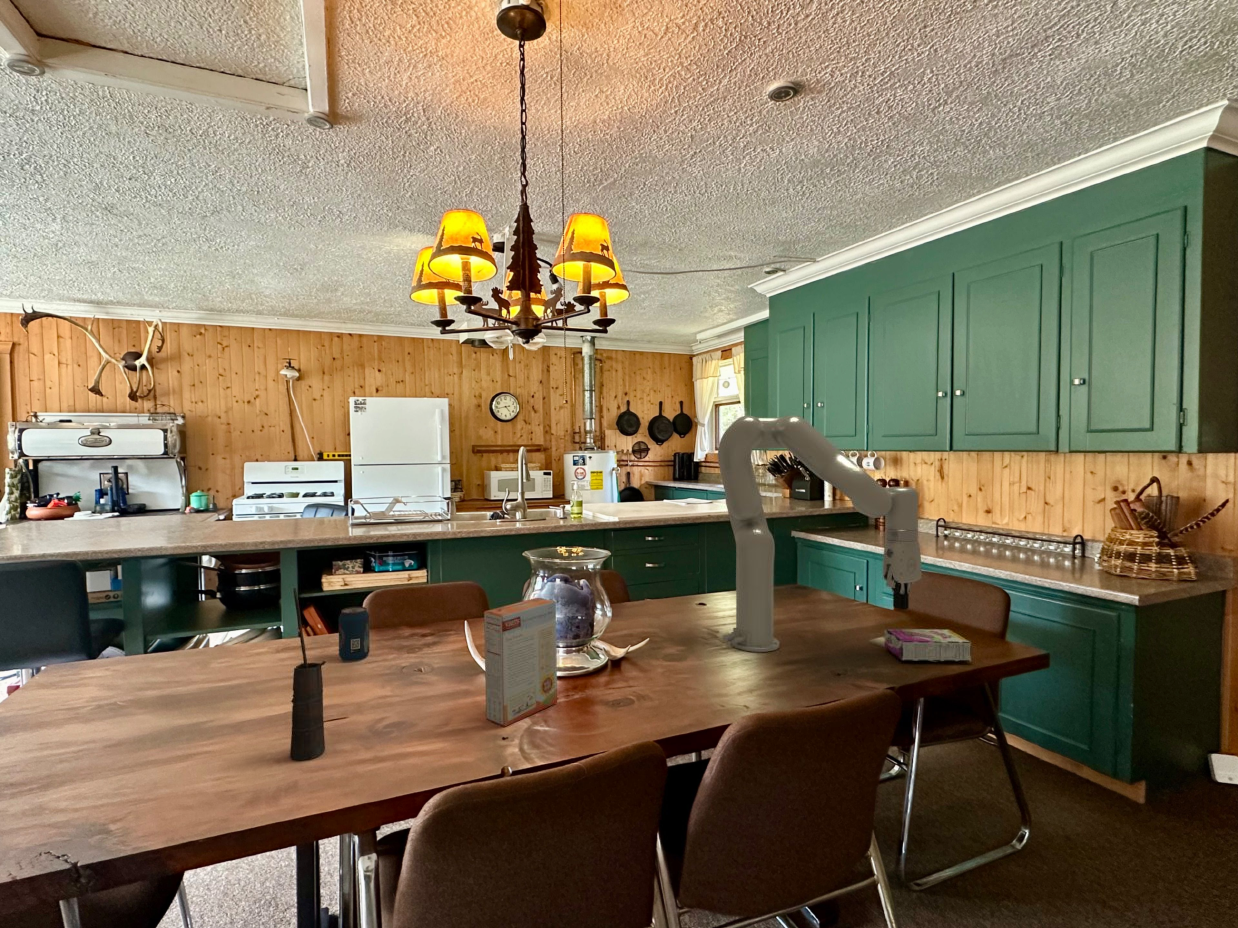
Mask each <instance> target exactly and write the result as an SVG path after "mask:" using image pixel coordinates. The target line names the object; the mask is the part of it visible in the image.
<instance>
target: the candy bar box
mask: <svg viewBox="0 0 1238 928" xmlns="http://www.w3.org/2000/svg"><path fill="white" fill-rule="evenodd" d="M884 636H885V647H886V649H887V650H888V651H890V652H891V654H893V655H894V656H896V657H897V658H898V659H900V660H901V661H904V662H905V661H906V662H907V661H910V662H911V661H912V662H913V661H914V662H919V661H920V662H921V661H922V662H923V661H924V662H933V661H937V662H972V642H971V641H970V640H968V639H967V638H964V637H962V636H961V635H959V634H958V633H956V632H954V631H953V630H950V629H936V628H933V629H932V628H930V629H925V628H924V629H922V628H921V629H918V628H917V629H911V628H909V629H906V628H905V629H904V628H902V629H900V628H899V629H898V628H895V629H894V628H885V629H884ZM885 647H884V648H885Z"/></svg>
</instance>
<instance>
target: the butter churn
mask: <svg viewBox="0 0 1238 928" xmlns="http://www.w3.org/2000/svg"><path fill="white" fill-rule="evenodd" d="M293 598H294V605H295V611H296V619H297V625H298V631H299V638H300V644H301V645H300V647H301V652H302V660H303V663H300V664H298V665H296V667H294V669H293V674H292V675H293V677H292V679H293V682H292V691H293V694H292V699H291V701H290V703H292V705H291V707H292V708H291V709H292V710H291V711H292V712H291V737H290V751H289V752H290V753H289V756H290V759H291V758H292V759H291V760H293V759H294V760H293V761H305V760H308V759H309V760H311V759H316V758H318V757H319V756H321V755H322V754H324V753H325V750H326V746H325V745H326V744H325V743H326V741H325V726H324V725H325V722H324V699H323V698H324V685H323V684H324V683H323V675H322V674H323V672H322V671H323V669H322V666H324V665H326V663H327V661H326V660H323V661H321V662H308V658H307V653H306V644H305V639H304V638H305V637H304V631H303V626H302V617H301V616H302V615H301V609H300V605H299V599H298V598H299V597H298V591H297V588H296V587H294V588H293Z"/></svg>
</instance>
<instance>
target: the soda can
mask: <svg viewBox="0 0 1238 928" xmlns="http://www.w3.org/2000/svg"><path fill="white" fill-rule="evenodd" d="M367 609H368V608H366V607H365V606H350V607H345V608H343V609H341V612H340V614H339V617H338V655H339V658H340V659H341V661H343V662H344V663H353V662H354V663H355V662H360V661H363V660H365V659H367V658H368V655H369V653H370V650H371V649H370V647H371V645H370V614H369V612H368V610H367Z"/></svg>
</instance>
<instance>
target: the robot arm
mask: <svg viewBox="0 0 1238 928" xmlns="http://www.w3.org/2000/svg"><path fill="white" fill-rule="evenodd" d="M724 431H725V432H724V433H723V434H722V436H721V438H720V441H719V444H718V448H717V463H718V467H719V472H720V477H721V482H722V485H723V489H724V493H725V505H726V509H727V512H728V517H729V521H730V525H731V529H732V531H733V536H734V540H735V547H736V549H735V551H736V553H735V555H736V556H735V557H736V561H735V562H736V563H735V564H736V565H735V568H736V570H735V573H736V574H735V576H736V577H735V587H736V588H735V591H736V596H735V597H736V598H735V604H736V605H735V606H736V607H735V608H736V610H735V615H736V616H735V627H733V628H732V632H731V633H726V634H722V637H721V638H722V641H723V643H729V644H730V646H732V647H733V648H735V649H738V650H741V651H745V652H752V653H768V652H773V651H776V650H777V649H779V648H780V640H778V639H777V638H776V637H774V569H775V568H774V566H775V565H774V564H775V548H776V547H775V546H776V545H775V540H774V536H773V534H772V532H771V531H770V530H769V526H768V522H767V519H766V515H765V512H764V511H765V510H764V507H763V498H762V495H761V492H760V490H759V486H758V483H757V480H756V476H755V471H754V466H753V463H752V452H753V449H786V450H788V451H789V452H790V454H792V455H793V456H794V457H795V458H796V459H798V461H800V462H801V463H802V464H803V465H804V466H805V467H806V468H808V469H809V470H810V471H811V472H812V473H813V474H814V475H816V476H817V477H818V478H819V479H821V480H822V481H824V482H826V483H828V484H830V485H831V486H833V487H834V488H836V489H837V490H839V491H840V492H841V493H842V495H844V496H846V497H847V498H848V499H849V500H850V501H851V505H852V506H853V509H855V510H856V511H857V512H858V513H860V514H863V515H864V516H867V517H869V518H875V519H877V518H883V517H884V527H885V528H884V530H885V531H884V541H885V543H884V547H883V548H884V549H883V558H882V576H883V580H885V581H886V583H885V585H886V587H889V588H890V589H891V592H892V596H893V597H892V598H893V599H892V606H893V608H894V609H899V610H902V611H903V610H904V611H905V610H908V609H909V608H910V607H909V603H910V602H909V598H910V592H911V586H912V585H913V584H915V583H916V582H917V581H919V580H921V578H922V554H921V553H922V552H921V547H920V542H919V492H918V490H917V489H916V488H915V487H911V486H890V487H883V485H881V484H880V483H879V482H878V481H877V480H875V479H874V477H872V476H871V475H870V474H868V473H867V471H865V470H864V469H863V468H862V467H860V466H859V465H858V464H856V463H855V462H854V461H852V460H851V458H849V457H848V456H847V455H846V454H844V453H843V451H841V450H840V449H839V448H838V447H836V446H835V445H834V444H833V443H832V442H831V441H829V440H828V439H827V437H825V436H824V435H823V434H821V433H820V432H819V431H818V429H816V428H815V427H814V426H813V425H812V424H810V423H809V422H808V421H807V420H806V419H804V418H803V417H802V416H799V415H795V414H792V415H787V416H784V417H756V416H753V415H747V414H746V415H743V416H740V417H738V418H737V419H735V420H734V421H733V422H732V423H731V424H730V425H729V426H728V428H727V429H726V430H724Z"/></svg>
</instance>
